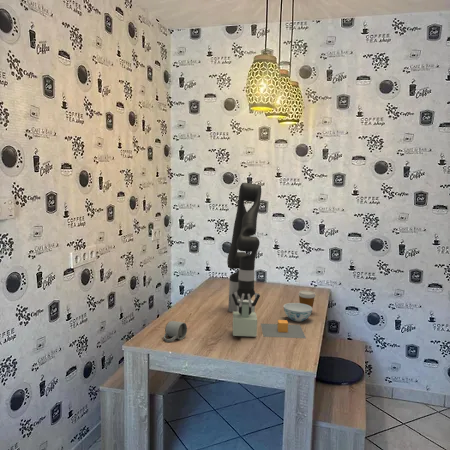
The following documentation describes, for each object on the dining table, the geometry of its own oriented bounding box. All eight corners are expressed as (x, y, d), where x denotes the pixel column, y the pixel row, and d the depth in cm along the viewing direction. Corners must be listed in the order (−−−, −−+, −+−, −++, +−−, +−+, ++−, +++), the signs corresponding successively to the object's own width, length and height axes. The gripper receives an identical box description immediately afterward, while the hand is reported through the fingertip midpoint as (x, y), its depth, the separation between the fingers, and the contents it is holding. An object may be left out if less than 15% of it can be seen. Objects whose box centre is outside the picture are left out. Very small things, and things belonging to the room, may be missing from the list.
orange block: (278, 332, 210) (278, 323, 209) (277, 328, 214) (277, 319, 214) (287, 332, 210) (288, 323, 209) (286, 329, 214) (286, 320, 214)
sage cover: (232, 335, 200) (233, 306, 199) (232, 327, 211) (233, 299, 210) (256, 336, 200) (257, 307, 199) (255, 328, 211) (256, 300, 210)
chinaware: (301, 315, 239) (302, 301, 239) (317, 324, 226) (318, 310, 225) (277, 317, 234) (278, 303, 233) (291, 327, 220) (292, 312, 219)
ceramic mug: (173, 333, 206) (173, 317, 205) (187, 336, 202) (187, 320, 201) (159, 340, 197) (159, 324, 196) (174, 344, 193) (174, 327, 192)
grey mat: (263, 338, 203) (263, 336, 203) (260, 325, 221) (260, 323, 221) (306, 340, 203) (306, 338, 203) (299, 326, 221) (299, 325, 221)
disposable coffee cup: (314, 316, 238) (315, 295, 237) (296, 314, 240) (298, 293, 239) (314, 311, 247) (315, 291, 246) (297, 309, 249) (298, 289, 248)
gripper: (231, 279, 199) (230, 316, 201) (262, 281, 199) (260, 317, 201) (231, 276, 207) (230, 311, 209) (260, 277, 207) (259, 312, 209)
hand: (244, 314), depth 205 cm, fingers closed on sage cover, 3 cm apart
